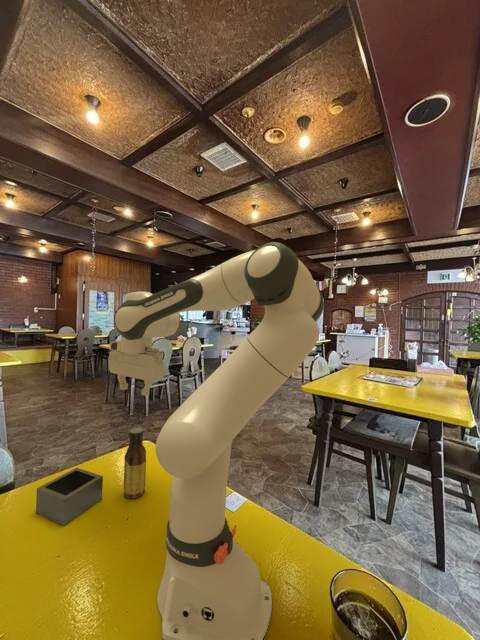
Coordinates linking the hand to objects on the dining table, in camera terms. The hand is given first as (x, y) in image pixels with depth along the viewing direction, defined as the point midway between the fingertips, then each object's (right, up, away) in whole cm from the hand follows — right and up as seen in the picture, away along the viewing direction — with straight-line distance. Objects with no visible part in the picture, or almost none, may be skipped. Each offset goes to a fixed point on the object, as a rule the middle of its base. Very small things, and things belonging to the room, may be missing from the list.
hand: (134, 392), depth 84 cm
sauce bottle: (-1, -32, +2) cm, 32 cm away
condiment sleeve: (-17, -31, -4) cm, 36 cm away
